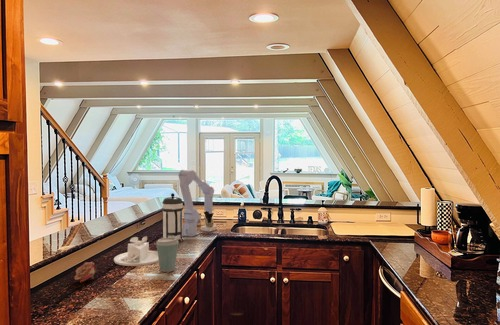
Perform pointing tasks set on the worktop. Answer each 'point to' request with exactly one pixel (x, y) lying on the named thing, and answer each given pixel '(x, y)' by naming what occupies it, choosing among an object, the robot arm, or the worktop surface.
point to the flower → (85, 271)
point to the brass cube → (208, 223)
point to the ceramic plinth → (208, 228)
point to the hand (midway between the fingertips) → (208, 222)
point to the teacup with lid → (200, 218)
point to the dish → (137, 254)
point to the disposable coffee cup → (167, 253)
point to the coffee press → (173, 217)
